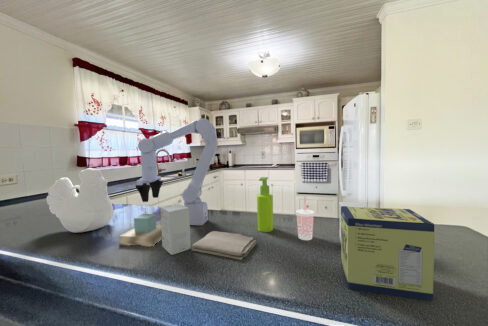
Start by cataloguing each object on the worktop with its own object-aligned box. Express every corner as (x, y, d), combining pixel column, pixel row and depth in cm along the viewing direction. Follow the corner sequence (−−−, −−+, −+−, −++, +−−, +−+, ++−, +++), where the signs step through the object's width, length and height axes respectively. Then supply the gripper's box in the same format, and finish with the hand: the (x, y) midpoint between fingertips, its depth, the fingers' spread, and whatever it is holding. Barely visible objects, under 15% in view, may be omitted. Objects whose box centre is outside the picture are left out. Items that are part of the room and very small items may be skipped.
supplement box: (363, 241, 69) (364, 202, 69) (368, 251, 62) (369, 208, 62) (338, 238, 72) (338, 201, 71) (341, 248, 65) (341, 206, 64)
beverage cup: (317, 237, 73) (317, 196, 73) (309, 242, 69) (309, 199, 68) (301, 232, 77) (300, 194, 77) (292, 238, 73) (292, 197, 72)
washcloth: (244, 262, 58) (243, 251, 58) (189, 252, 65) (189, 242, 65) (257, 244, 70) (257, 235, 69) (209, 237, 76) (209, 229, 76)
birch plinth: (171, 232, 81) (170, 224, 80) (152, 246, 69) (152, 237, 69) (142, 231, 82) (141, 223, 82) (119, 245, 71) (118, 236, 70)
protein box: (339, 264, 56) (339, 205, 55) (410, 272, 51) (411, 208, 50) (346, 289, 46) (346, 217, 45) (435, 302, 41) (437, 223, 40)
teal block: (156, 227, 78) (155, 214, 77) (148, 232, 73) (147, 218, 72) (143, 227, 78) (142, 213, 78) (134, 232, 73) (133, 218, 73)
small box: (191, 249, 66) (189, 207, 66) (171, 255, 62) (169, 211, 62) (180, 241, 73) (179, 203, 72) (161, 246, 69) (159, 206, 68)
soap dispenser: (254, 232, 79) (253, 178, 78) (260, 225, 86) (259, 176, 84) (270, 234, 77) (269, 178, 76) (274, 227, 83) (274, 176, 82)
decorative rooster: (123, 224, 92) (120, 166, 91) (88, 238, 77) (84, 169, 75) (79, 220, 98) (75, 166, 97) (38, 233, 83) (33, 169, 82)
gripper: (150, 166, 98) (151, 195, 99) (128, 169, 84) (130, 203, 84) (164, 166, 97) (165, 196, 98) (145, 169, 83) (147, 203, 83)
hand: (150, 199), depth 91 cm, fingers open, 7 cm apart
